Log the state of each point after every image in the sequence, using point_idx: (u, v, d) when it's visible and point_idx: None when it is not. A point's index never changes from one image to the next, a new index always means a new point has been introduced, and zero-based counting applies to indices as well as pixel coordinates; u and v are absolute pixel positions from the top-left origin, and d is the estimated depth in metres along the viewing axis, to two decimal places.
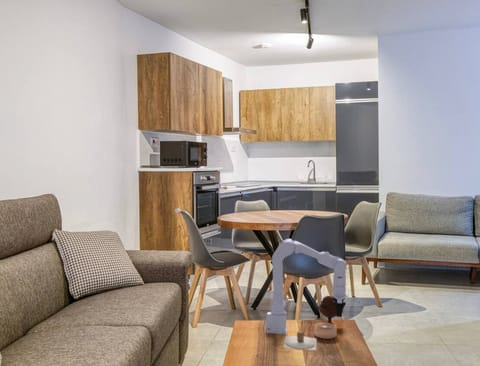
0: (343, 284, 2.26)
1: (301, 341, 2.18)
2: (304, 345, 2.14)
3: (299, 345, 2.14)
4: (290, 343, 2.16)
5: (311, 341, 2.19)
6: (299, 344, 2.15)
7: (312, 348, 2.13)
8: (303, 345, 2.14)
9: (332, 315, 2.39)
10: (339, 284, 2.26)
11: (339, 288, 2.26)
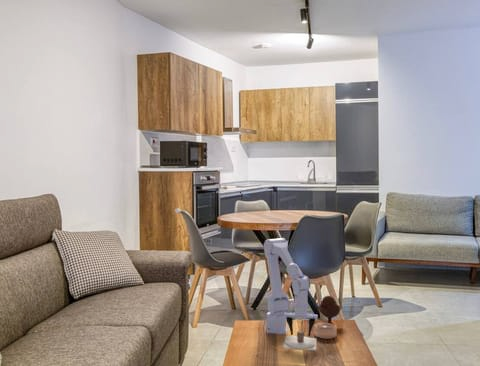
0: (299, 304, 2.16)
1: (301, 341, 2.18)
2: (304, 345, 2.14)
3: (299, 345, 2.14)
4: (290, 343, 2.16)
5: (311, 341, 2.19)
6: (299, 344, 2.15)
7: (312, 348, 2.13)
8: (303, 345, 2.14)
9: (332, 315, 2.39)
10: (295, 303, 2.17)
11: (294, 305, 2.19)
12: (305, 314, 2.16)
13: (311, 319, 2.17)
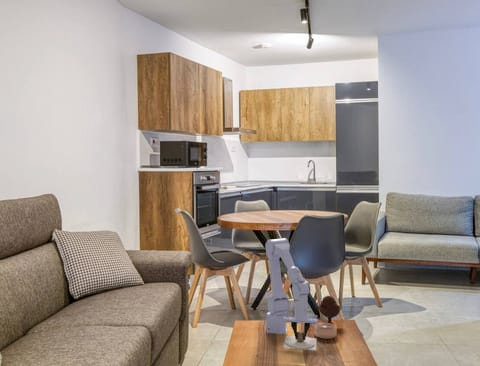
0: (299, 308, 2.16)
1: (301, 341, 2.18)
2: (304, 345, 2.14)
3: (299, 345, 2.14)
4: (290, 343, 2.16)
5: (311, 341, 2.19)
6: (299, 344, 2.15)
7: (312, 348, 2.13)
8: (303, 345, 2.14)
9: (332, 315, 2.39)
10: (295, 307, 2.17)
11: (294, 310, 2.19)
12: (305, 319, 2.16)
13: None
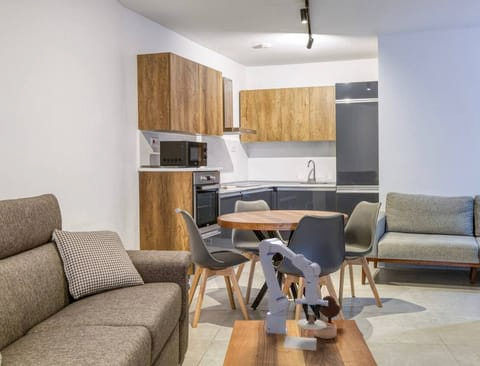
0: (312, 290, 2.19)
1: (312, 323, 2.21)
2: (315, 326, 2.17)
3: (310, 326, 2.17)
4: (301, 324, 2.20)
5: (322, 323, 2.22)
6: (310, 325, 2.18)
7: (312, 348, 2.13)
8: (314, 326, 2.17)
9: (332, 315, 2.39)
10: (308, 289, 2.19)
11: (305, 292, 2.22)
12: (316, 300, 2.20)
13: None
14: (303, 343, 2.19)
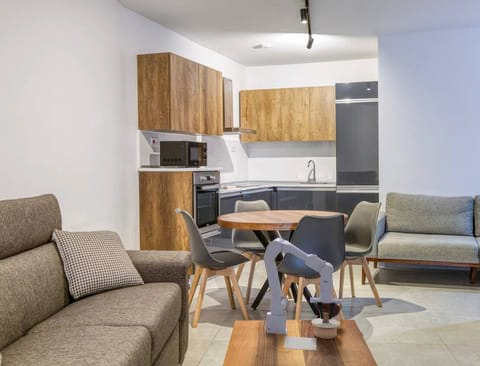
0: (329, 289, 2.24)
1: (326, 322, 2.26)
2: (329, 325, 2.22)
3: (324, 325, 2.23)
4: (316, 323, 2.25)
5: (336, 322, 2.27)
6: (324, 324, 2.24)
7: (312, 348, 2.13)
8: (328, 325, 2.22)
9: (332, 315, 2.39)
10: (325, 288, 2.24)
11: (320, 291, 2.27)
12: (330, 299, 2.25)
13: (336, 303, 2.26)
14: (303, 343, 2.19)
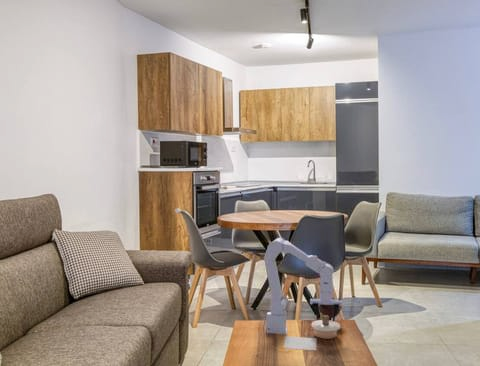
0: (329, 290, 2.24)
1: (326, 324, 2.26)
2: (329, 328, 2.22)
3: (324, 328, 2.23)
4: (315, 326, 2.25)
5: (336, 324, 2.27)
6: (324, 327, 2.24)
7: (312, 348, 2.13)
8: (328, 328, 2.23)
9: (332, 315, 2.39)
10: (325, 290, 2.24)
11: (320, 292, 2.27)
12: (330, 300, 2.25)
13: (336, 305, 2.26)
14: (303, 343, 2.19)
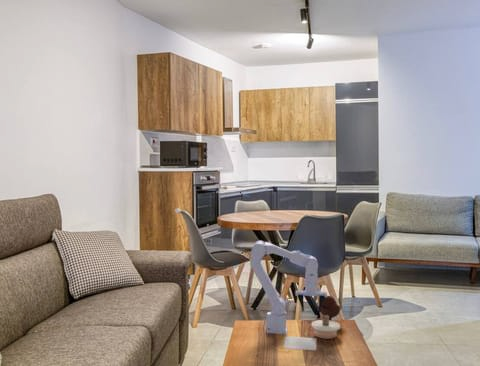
0: (315, 281, 2.29)
1: (326, 324, 2.26)
2: (329, 328, 2.22)
3: (324, 328, 2.23)
4: (315, 326, 2.25)
5: (336, 325, 2.27)
6: (324, 327, 2.24)
7: (312, 348, 2.13)
8: (328, 328, 2.23)
9: (332, 315, 2.39)
10: (311, 281, 2.29)
11: (305, 284, 2.32)
12: (315, 291, 2.30)
13: (321, 296, 2.31)
14: (303, 343, 2.19)
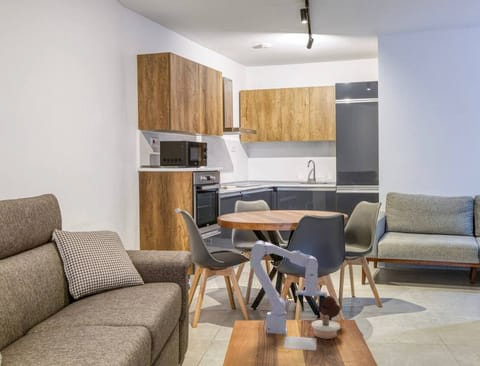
0: (315, 281, 2.29)
1: (326, 324, 2.26)
2: (329, 328, 2.22)
3: (324, 328, 2.23)
4: (315, 326, 2.25)
5: (336, 325, 2.27)
6: (324, 327, 2.24)
7: (312, 348, 2.13)
8: (328, 328, 2.23)
9: (332, 315, 2.39)
10: (311, 281, 2.29)
11: (305, 284, 2.32)
12: (315, 291, 2.30)
13: (321, 296, 2.31)
14: (303, 343, 2.19)
